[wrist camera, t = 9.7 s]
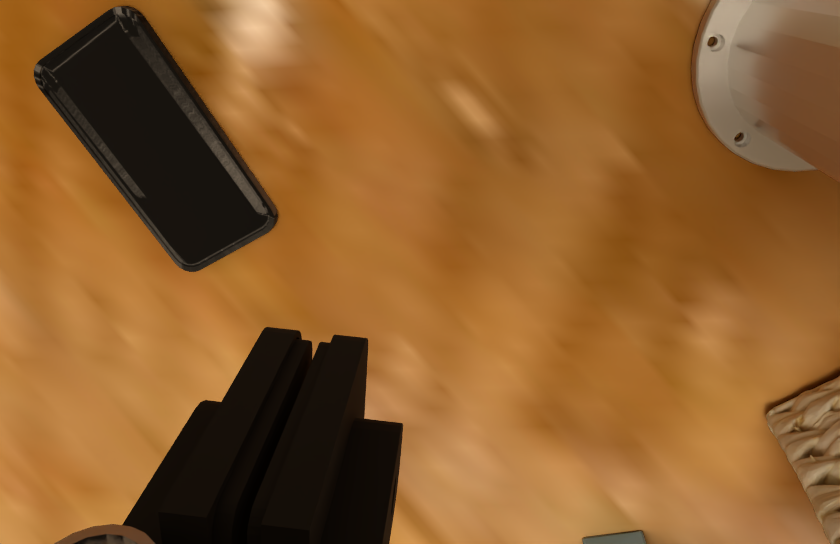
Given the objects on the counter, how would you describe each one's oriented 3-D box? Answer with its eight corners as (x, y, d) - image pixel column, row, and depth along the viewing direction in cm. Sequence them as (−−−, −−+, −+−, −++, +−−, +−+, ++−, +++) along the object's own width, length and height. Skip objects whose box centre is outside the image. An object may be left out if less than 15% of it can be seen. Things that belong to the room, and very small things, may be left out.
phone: (124, -2, 36) (281, 225, 41) (134, -3, 37) (286, 218, 42) (24, 71, 38) (184, 278, 43) (35, 69, 39) (191, 271, 44)
